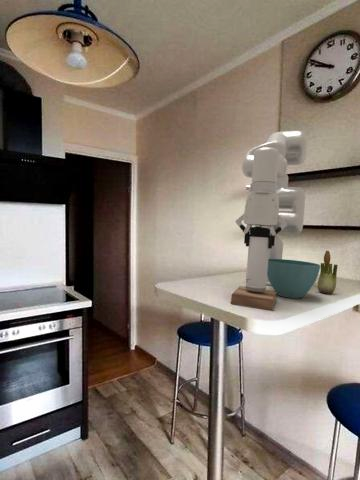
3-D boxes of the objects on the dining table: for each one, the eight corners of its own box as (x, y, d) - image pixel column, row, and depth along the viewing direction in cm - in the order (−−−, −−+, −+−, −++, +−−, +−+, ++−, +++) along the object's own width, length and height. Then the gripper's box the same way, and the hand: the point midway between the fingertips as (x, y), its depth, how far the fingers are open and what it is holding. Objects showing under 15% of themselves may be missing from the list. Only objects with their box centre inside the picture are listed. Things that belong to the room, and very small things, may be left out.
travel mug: (242, 290, 89) (247, 225, 88) (248, 286, 95) (252, 226, 94) (263, 293, 86) (268, 226, 85) (267, 289, 92) (272, 227, 91)
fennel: (323, 289, 120) (326, 251, 120) (310, 284, 128) (313, 249, 128) (340, 289, 122) (343, 252, 121) (326, 285, 130) (329, 250, 129)
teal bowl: (268, 287, 116) (270, 257, 115) (318, 295, 107) (321, 262, 107) (258, 295, 100) (261, 260, 99) (316, 305, 91) (319, 267, 91)
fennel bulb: (336, 294, 111) (339, 263, 111) (331, 295, 108) (333, 264, 107) (320, 291, 115) (323, 261, 115) (315, 292, 112) (318, 262, 112)
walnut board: (239, 294, 99) (240, 285, 99) (275, 300, 95) (276, 290, 95) (230, 303, 86) (231, 293, 86) (272, 310, 82) (273, 299, 82)
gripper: (233, 187, 89) (228, 245, 90) (293, 188, 82) (287, 250, 83) (237, 190, 96) (233, 244, 97) (293, 191, 89) (288, 249, 90)
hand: (258, 246), depth 90 cm, fingers closed on travel mug, 6 cm apart
